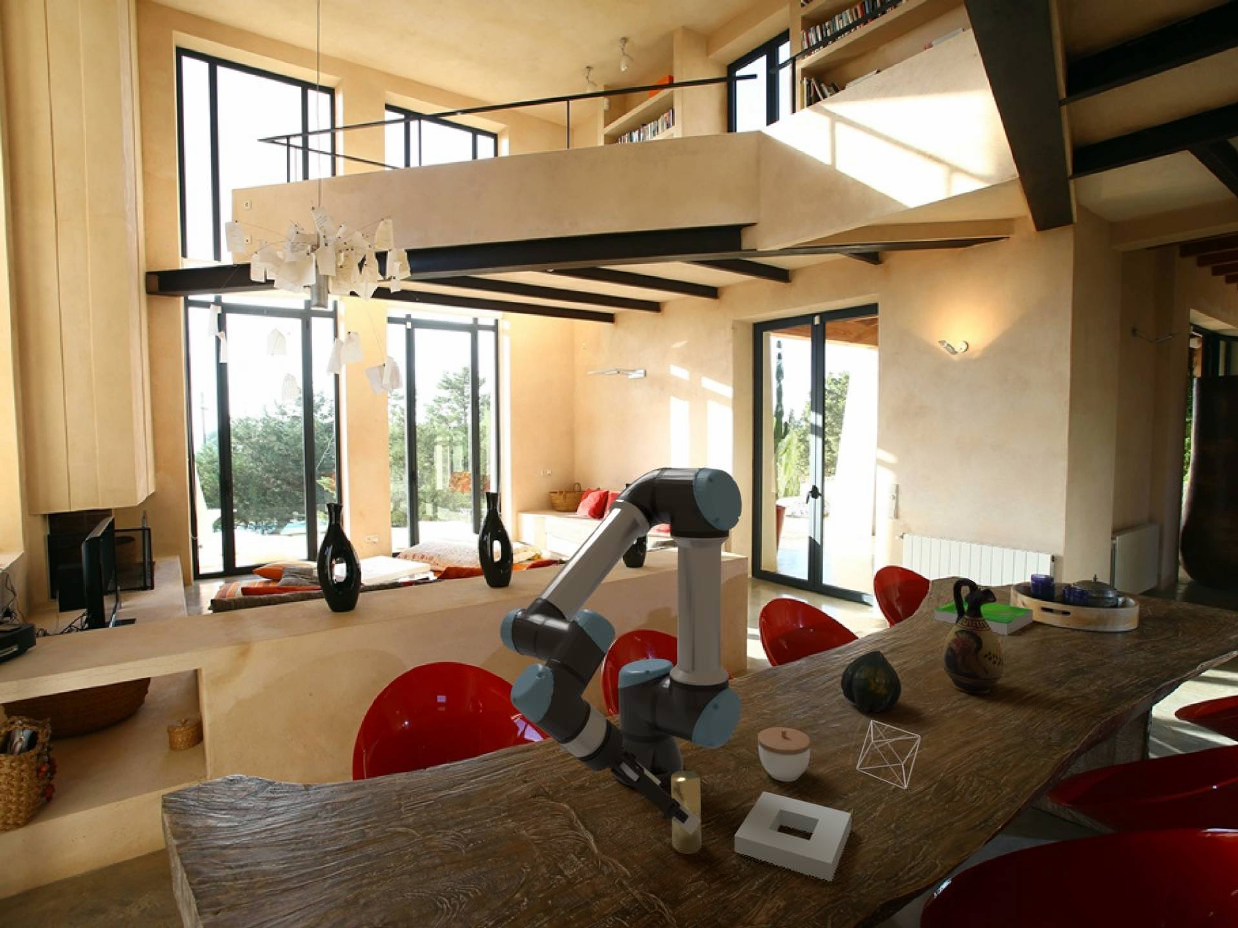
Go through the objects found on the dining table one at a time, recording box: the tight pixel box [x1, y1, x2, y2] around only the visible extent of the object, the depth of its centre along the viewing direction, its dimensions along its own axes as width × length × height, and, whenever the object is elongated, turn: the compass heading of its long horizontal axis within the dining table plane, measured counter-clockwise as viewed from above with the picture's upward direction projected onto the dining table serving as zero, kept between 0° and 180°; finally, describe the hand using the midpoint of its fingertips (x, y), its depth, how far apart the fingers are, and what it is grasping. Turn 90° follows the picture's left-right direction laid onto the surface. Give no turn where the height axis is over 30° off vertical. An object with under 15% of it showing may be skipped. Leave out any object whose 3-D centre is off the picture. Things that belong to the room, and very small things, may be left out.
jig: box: [734, 791, 852, 882], centre depth 115 cm, size 16×16×3 cm
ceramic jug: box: [941, 577, 1005, 695], centre depth 184 cm, size 17×15×30 cm
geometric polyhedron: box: [856, 719, 922, 790], centre depth 138 cm, size 12×11×9 cm
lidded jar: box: [757, 726, 811, 782], centre depth 138 cm, size 11×11×9 cm
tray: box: [933, 597, 1034, 636], centre depth 248 cm, size 25×25×5 cm
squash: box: [840, 650, 902, 713], centre depth 172 cm, size 14×15×15 cm
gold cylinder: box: [670, 770, 702, 853], centre depth 115 cm, size 5×5×12 cm
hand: (674, 805), depth 113 cm, fingers open, 13 cm apart
